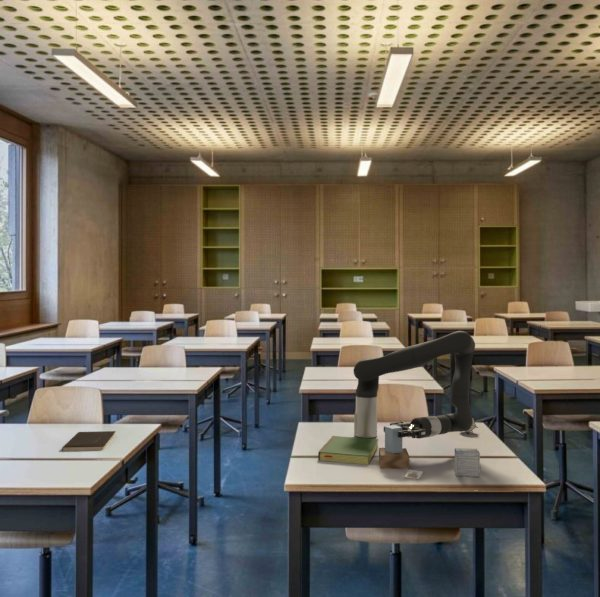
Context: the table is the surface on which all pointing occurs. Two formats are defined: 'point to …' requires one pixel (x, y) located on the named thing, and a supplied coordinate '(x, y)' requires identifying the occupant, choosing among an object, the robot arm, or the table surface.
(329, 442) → the hardcover book
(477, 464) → the medicine box
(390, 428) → the top brick
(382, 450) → the base brick
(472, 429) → the game die
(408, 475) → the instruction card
